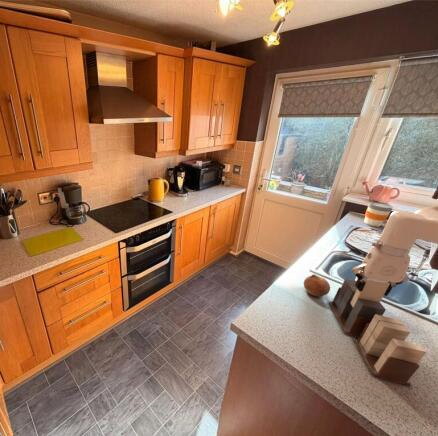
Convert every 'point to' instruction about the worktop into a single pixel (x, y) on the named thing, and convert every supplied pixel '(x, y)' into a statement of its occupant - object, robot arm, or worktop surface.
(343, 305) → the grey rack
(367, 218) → the reusable coffee cup
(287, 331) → the worktop surface
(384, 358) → the cream rack
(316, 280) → the onion
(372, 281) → the cream book
